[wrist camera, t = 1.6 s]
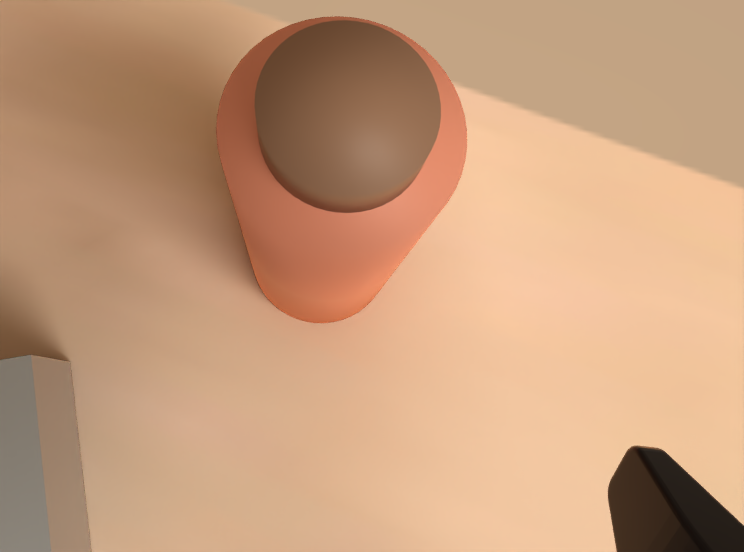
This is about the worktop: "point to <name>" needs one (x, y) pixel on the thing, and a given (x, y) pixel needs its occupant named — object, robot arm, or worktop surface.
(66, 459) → the socket board
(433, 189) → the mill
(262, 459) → the worktop surface
